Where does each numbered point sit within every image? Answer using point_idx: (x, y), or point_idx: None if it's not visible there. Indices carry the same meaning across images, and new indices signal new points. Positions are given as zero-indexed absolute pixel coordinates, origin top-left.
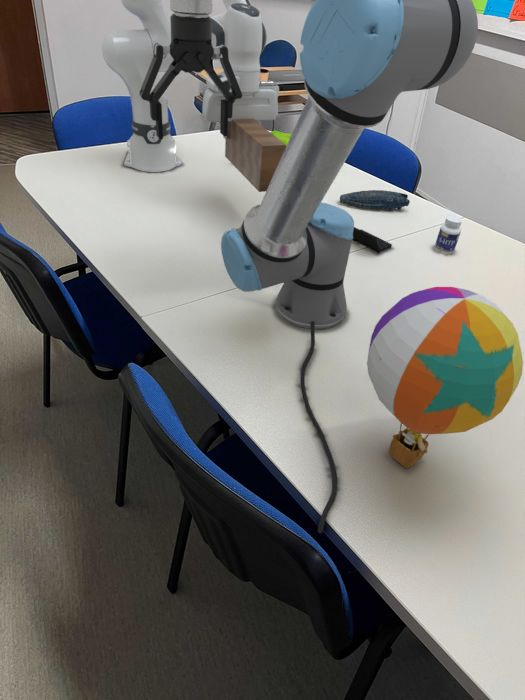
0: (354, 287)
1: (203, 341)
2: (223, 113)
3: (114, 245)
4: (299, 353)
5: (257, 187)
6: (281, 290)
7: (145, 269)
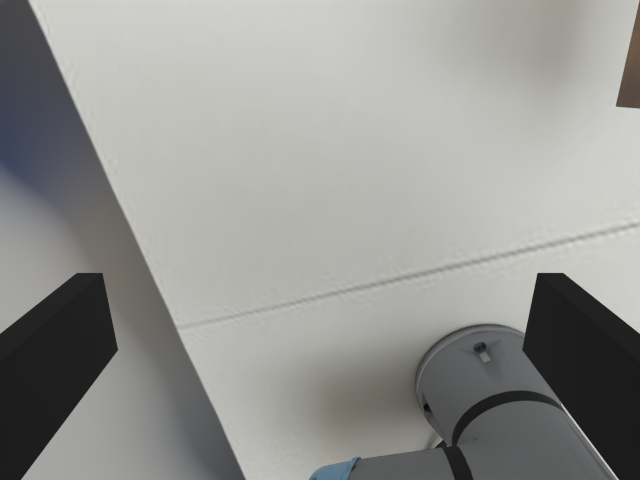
0: None
1: (267, 407)
2: (618, 441)
3: (123, 8)
4: None
5: (627, 86)
6: (437, 389)
7: (198, 163)
